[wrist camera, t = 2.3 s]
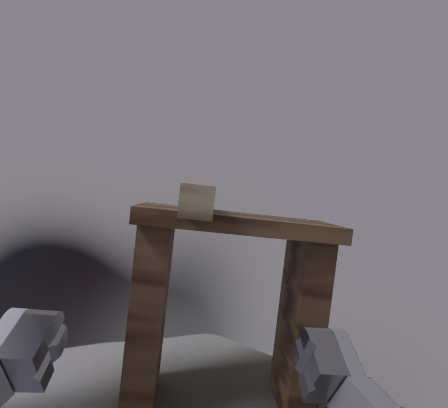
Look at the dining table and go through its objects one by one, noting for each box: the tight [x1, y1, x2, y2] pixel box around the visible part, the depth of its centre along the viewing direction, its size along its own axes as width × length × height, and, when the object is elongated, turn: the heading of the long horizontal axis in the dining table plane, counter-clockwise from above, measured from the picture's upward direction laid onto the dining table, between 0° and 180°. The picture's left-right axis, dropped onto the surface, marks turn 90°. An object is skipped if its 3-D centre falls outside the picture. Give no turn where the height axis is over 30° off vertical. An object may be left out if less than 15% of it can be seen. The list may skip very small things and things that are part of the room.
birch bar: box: [177, 183, 216, 222], centre depth 34 cm, size 20×3×3 cm, turn 6°
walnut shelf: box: [118, 203, 353, 408], centre depth 39 cm, size 10×26×26 cm, turn 96°
